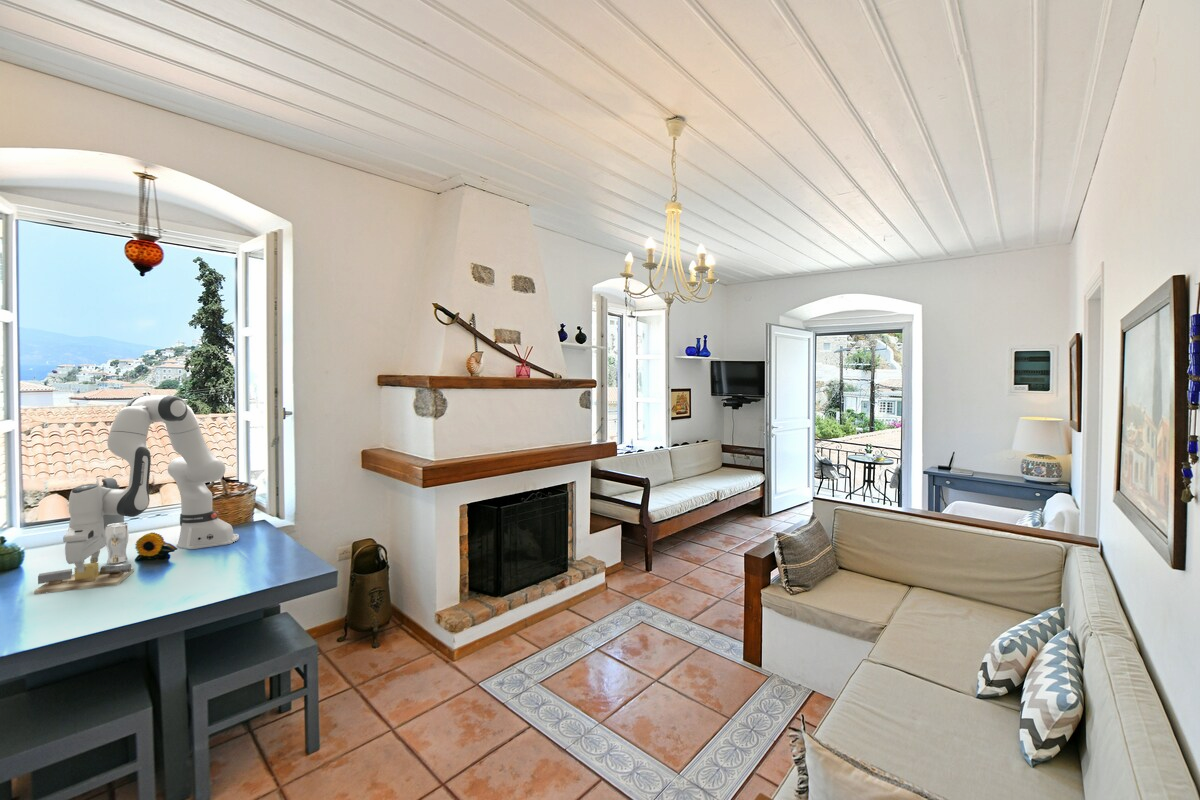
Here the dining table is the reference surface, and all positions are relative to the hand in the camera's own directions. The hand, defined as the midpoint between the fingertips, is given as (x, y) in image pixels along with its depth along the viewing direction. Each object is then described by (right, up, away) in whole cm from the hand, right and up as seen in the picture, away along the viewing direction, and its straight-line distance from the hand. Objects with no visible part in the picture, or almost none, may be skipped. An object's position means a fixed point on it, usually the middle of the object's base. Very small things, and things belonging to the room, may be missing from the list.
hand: (88, 567), depth 188 cm
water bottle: (-34, -3, +45) cm, 57 cm away
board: (0, -5, 0) cm, 5 cm away
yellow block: (0, -4, 0) cm, 4 cm away
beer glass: (-8, -5, +20) cm, 22 cm away
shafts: (0, -3, -1) cm, 3 cm away
